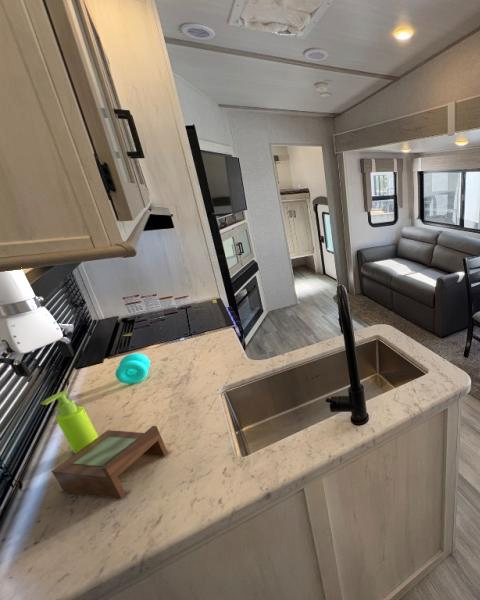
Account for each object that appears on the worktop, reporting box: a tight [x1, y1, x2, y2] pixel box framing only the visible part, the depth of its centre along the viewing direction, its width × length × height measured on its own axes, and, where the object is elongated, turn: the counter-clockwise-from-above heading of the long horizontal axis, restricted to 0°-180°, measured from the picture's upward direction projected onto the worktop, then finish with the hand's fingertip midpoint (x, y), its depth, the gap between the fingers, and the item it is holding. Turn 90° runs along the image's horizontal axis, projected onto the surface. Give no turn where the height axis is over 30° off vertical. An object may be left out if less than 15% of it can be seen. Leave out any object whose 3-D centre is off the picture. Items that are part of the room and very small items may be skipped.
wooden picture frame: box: [51, 425, 169, 499], centre depth 84 cm, size 18×14×10 cm
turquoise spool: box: [114, 353, 151, 385], centre depth 128 cm, size 10×10×10 cm
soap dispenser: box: [39, 390, 99, 454], centre depth 90 cm, size 6×7×20 cm
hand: (48, 365), depth 83 cm, fingers open, 9 cm apart
